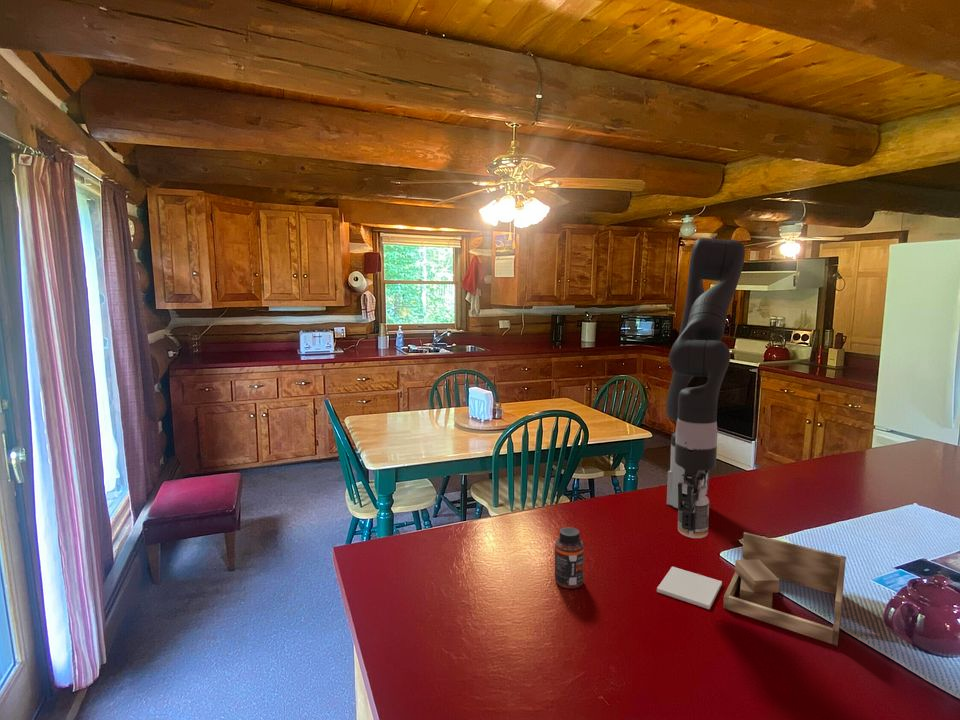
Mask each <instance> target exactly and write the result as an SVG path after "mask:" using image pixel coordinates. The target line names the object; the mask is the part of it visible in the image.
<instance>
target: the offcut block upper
mask: <svg viewBox="0 0 960 720" xmlns="http://www.w3.org/2000/svg"><path fill="white" fill-rule="evenodd" d="M734 560H735V563H734V573H735V572H736V573H737V574H738V575H739V576H740V578H741V579H742V580H743V581H744V582H745V583H746V584H747V586H748V587H749V588H750V589H751V590H752V591H753V592H754V593H767V592H773V593H779V592H780V582H781V581H780V580H781V579H778V578H777V577H776V576H775V575H774V574H773V573H772V572H771V571H770V570H769V569H768V568H767V567H766V566H765V565H764V564H763V563H762V562H761V561H760V560H759V559H755V560H741V559H734Z"/></svg>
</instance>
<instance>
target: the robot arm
mask: <svg viewBox="0 0 960 720" xmlns="http://www.w3.org/2000/svg"><path fill="white" fill-rule="evenodd" d="M745 258H746V248H745V245H744V243H742V242H741V241H738V240H733V239H720V238H710V237H700V238H697V239H696V240H695V242H694V243H693V245H692V249H691V253H690V257H689V259H690V260H689V266H688V276H687V286H686V287H687V288H686V296H685V304H684V308H683V314H682V318H681V323H680V328H679V334H678V337H677V339H676V340H675V341H674V343H673V344H672V346H671V349H670V351H669V356H668V361H669V362H668V363H669V366H670V368H671V370H672V371H673V372H672V375H671V381H670V384H669V388H668V393H667V397H666V404H665V411H666V416H667V417H668V418H669V419H670V420H671V421H673V422H676V426H675V432H673V433H672V434H671V438H670V462H669V463H670V464H669V465H670V466H669V467H670V468H669V469H668V471H667V485H666V486H667V487H666V505H668V506H671V507H672V508H675V509H678V510H679V511H683V512H682V528H683V529H686V530H690V531H693V530H694V529H695V512H696V504H697V502H698V501H699V500H700V496H701V489H702V487H703V485H706V486H707V493H706V495H708V493H709V483H710V482H709V481H710V470H713V469H714V468H715V467H716V466H717V455H718V454H717V453H718V451H717V450H718V423H717V419H718V418H717V417H718V404H719V403H718V402H719V401H718V400H719V395H720V390H721V387H722V383H723V381H724V378H725V375H726V373H727V371H728V368H729V365H730V361H731V351H730V348H729V346H727V344H726V343H725V342H724V341H722V339H723V337H724V334H725V328H726V324H727V319H728V318H727V317H728V314H729V313H728V312H729V308H730V304H731V302H732V300H733V297H734V296H735V292H736V290H737V286H738V284H739V280H740V279H741V274H742V271H743V267H744V265H745V264H744V263H745ZM703 280H705V281H713V282H714V281H715V282H717V283H716V284H714V285H713V286H711V287H710V288H708V289H707V290H705V289H704V284H703V282H704V281H703ZM694 377H698V378H699V377H701V378H707V380H706V382H705V384H703V385H698V386H692V387H690V386H689V384H690V382H691V381H692V379H694ZM688 386H689V387H688ZM696 492H697V494H696V496H693V493H696ZM686 502H688V503H689V506H688V505H686ZM678 510H677V511H678Z"/></svg>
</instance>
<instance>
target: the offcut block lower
mask: <svg viewBox="0 0 960 720" xmlns="http://www.w3.org/2000/svg"><path fill="white" fill-rule="evenodd" d="M739 585H740V587H739V588H740V589H739V597H738V598H739V599H742V600H746V601H749V602H752V603H755V604H758V605H761V606H765V607H768V608H771V609H773V597H774V596H773V593H774V592H767V593H754V592H753V591H752V590H751V589H750V588H749V587H748V586H747V584H746V583H745V582H744V581H743V580H742V579H741V581H740V584H739Z"/></svg>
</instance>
